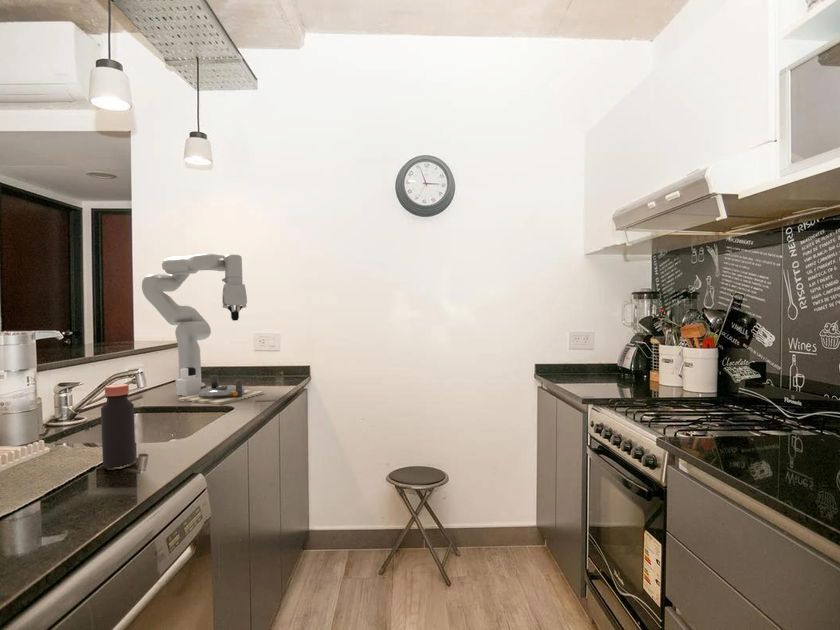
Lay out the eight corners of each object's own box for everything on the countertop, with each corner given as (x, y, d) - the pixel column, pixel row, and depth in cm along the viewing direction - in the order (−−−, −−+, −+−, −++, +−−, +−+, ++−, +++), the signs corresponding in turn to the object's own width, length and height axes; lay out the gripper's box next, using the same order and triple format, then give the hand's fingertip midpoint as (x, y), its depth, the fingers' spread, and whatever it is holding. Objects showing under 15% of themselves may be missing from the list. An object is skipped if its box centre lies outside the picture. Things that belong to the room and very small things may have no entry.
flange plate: (204, 399, 186) (203, 383, 186) (195, 391, 203) (194, 377, 203) (250, 393, 197) (250, 378, 196) (238, 387, 213) (238, 372, 213)
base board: (177, 400, 195) (177, 381, 195) (223, 390, 217) (223, 373, 217) (220, 405, 185) (219, 384, 185) (263, 393, 207) (263, 375, 207)
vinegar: (98, 472, 112) (95, 389, 111) (108, 463, 118) (105, 384, 118) (130, 469, 114) (128, 387, 113) (139, 460, 120) (136, 382, 120)
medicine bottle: (191, 392, 213) (190, 366, 213) (201, 394, 209) (200, 367, 209) (176, 395, 207) (175, 368, 206) (186, 396, 203) (185, 369, 203)
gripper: (220, 280, 212) (221, 321, 213) (252, 281, 222) (253, 319, 223) (214, 281, 218) (215, 320, 218) (246, 281, 228) (247, 319, 228)
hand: (235, 320), depth 221 cm, fingers closed
